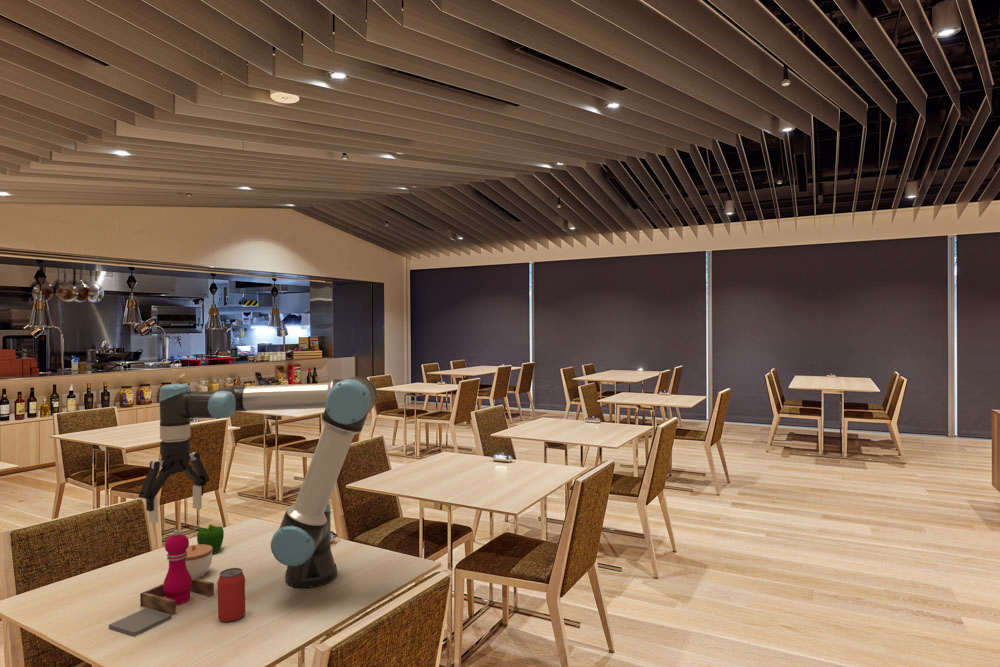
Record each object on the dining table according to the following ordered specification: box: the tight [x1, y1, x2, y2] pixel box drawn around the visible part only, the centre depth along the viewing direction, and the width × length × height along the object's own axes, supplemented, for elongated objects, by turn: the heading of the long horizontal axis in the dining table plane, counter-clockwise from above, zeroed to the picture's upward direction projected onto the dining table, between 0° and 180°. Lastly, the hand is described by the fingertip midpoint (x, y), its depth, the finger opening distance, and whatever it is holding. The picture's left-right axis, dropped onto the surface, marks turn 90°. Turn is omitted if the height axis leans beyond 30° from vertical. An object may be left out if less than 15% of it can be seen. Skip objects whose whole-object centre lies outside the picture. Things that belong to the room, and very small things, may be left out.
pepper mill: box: [162, 529, 192, 606], centre depth 169 cm, size 7×7×20 cm
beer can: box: [217, 567, 246, 623], centre depth 159 cm, size 7×7×12 cm
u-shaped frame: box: [139, 578, 215, 616], centre depth 169 cm, size 13×13×4 cm
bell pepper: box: [196, 523, 225, 554], centre depth 206 cm, size 8×8×10 cm
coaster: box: [108, 607, 173, 637], centre depth 156 cm, size 10×10×1 cm
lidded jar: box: [185, 544, 213, 579], centre depth 186 cm, size 11×11×9 cm
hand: (176, 515), depth 169 cm, fingers open, 13 cm apart
